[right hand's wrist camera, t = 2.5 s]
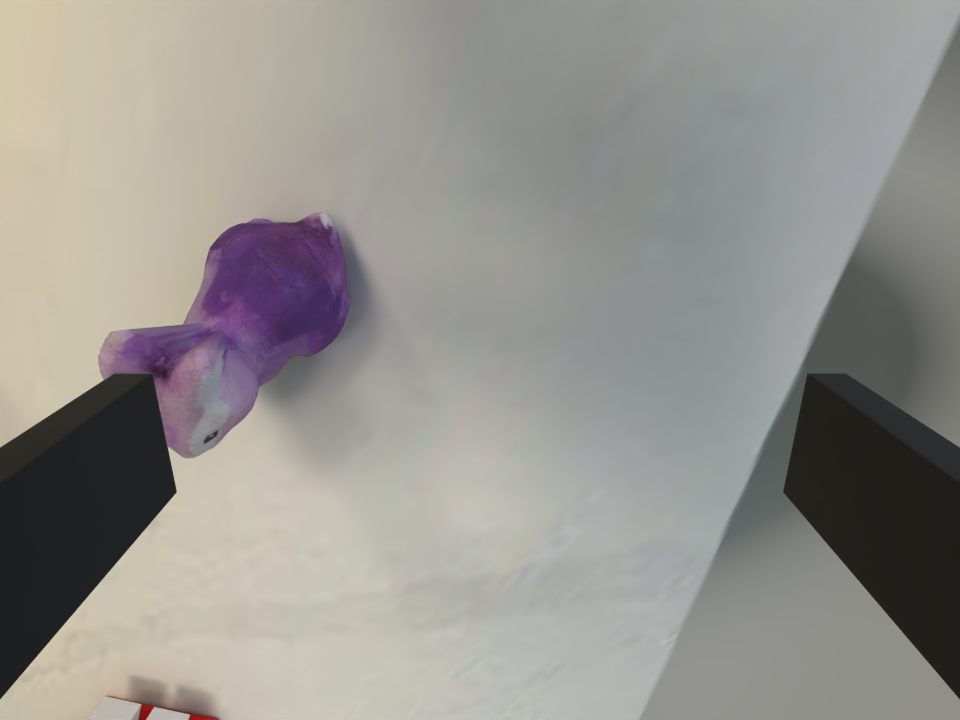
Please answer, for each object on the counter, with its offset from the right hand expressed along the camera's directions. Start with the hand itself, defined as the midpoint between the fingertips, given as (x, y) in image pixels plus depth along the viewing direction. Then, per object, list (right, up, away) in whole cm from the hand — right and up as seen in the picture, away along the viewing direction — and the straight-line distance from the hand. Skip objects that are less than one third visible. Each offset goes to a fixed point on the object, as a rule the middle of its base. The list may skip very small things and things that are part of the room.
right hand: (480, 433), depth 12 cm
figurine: (-12, +5, +25) cm, 28 cm away
